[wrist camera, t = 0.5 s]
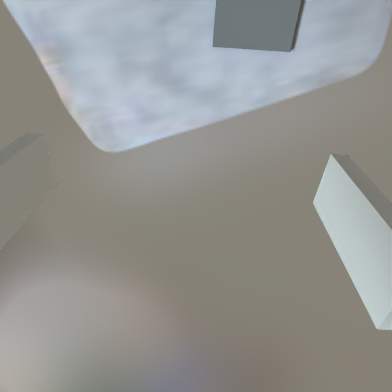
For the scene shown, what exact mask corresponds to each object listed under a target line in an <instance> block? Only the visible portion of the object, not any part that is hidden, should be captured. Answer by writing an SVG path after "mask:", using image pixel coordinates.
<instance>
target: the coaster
mask: <svg viewBox="0 0 392 392" xmlns="http://www.w3.org/2000/svg"><path fill="white" fill-rule="evenodd" d="M300 4H301V0H216V11H215V24H214V36H213V47H224V48H239V49H254V50H269V51H284V52H290V50H291V45H292V41H293V36H294V32H295V27H296V23H297V18H298V13H299V9H300Z"/></svg>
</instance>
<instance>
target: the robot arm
mask: <svg viewBox="0 0 392 392" xmlns="http://www.w3.org/2000/svg"><path fill="white" fill-rule="evenodd" d="M56 186H57V182H56V179H55V175H54V171H53V168H52V164H51V161H50V157H49V154H48V150H47V146H46V143H45V140H44V136H43V134H37V133H25V134H24V135H22V136H21V137H19V138H18V139H16V140H15V141H14V142H12V143H10V144H9V145H8V146H6V147H5V148H3V149H2V150H0V250H1V248H2V247H3V246H4V245H5V244H6V243H7V242H8V240H9V239H10V238H11V237H12V236H13V235H14V234H15V232H16V231H17V230H18V229H19V228H20V227H21V225H22V224H23V223H24V222H25V221H26V220H27V219H28V218H29V216H30V215H31V214H32V213H33V212H34V211H35V210H36V208H37V207H38V206H39V205H40V204H41V203H42V202H43V200H44V199H45V198H46V197H47V196H48V195H49V194H50V192H51V191H52V190H53V189H54V188H55V187H56ZM313 204H314V206H315V208H316V210H317V212H318V214H319V216H320V218H321V220H322V222H323V224H324V226H325V228H326V230H327V232H328V234H329V235H330V237H331V239H332V241H333V243H334V245H335V247H336V249H337V251H338V253H339V255H340V257H341V259H342V261H343V263H344V265H345V267H346V269H347V271H348V273H349V275H350V277H351V279H352V281H353V283H354V285H355V286H356V289H357V291H358V293H359V295H360V296H361V298H362V300H363V302H364V304H365V306H366V308H367V310H368V312H369V314H370V316H371V318H372V320H373V322H374V324H375V326H376V328H377V329H384V330H392V203H391V202H390V201H389V200H388V199H387V197H386V196H385V195H384V194H383V193H382V192H381V191H380V190H379V189H378V188H377V186H376V185H375V184H374V183H373V182H372V181H371V180H370V179H369V178H368V177H367V176H366V174H365V173H364V172H363V171H362V170H361V169H360V168H359V167H358V166H357V164H356V163H355V162H354V161H353V160H352V159H351V158H350V157H349V156H348V155H339V154H331V155H330V158H329V161H328V164H327V166H326V169H325V172H324V175H323V177H322V180H321V182H320V185H319V188H318V191H317V193H316V196H315V199H314V202H313Z"/></svg>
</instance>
